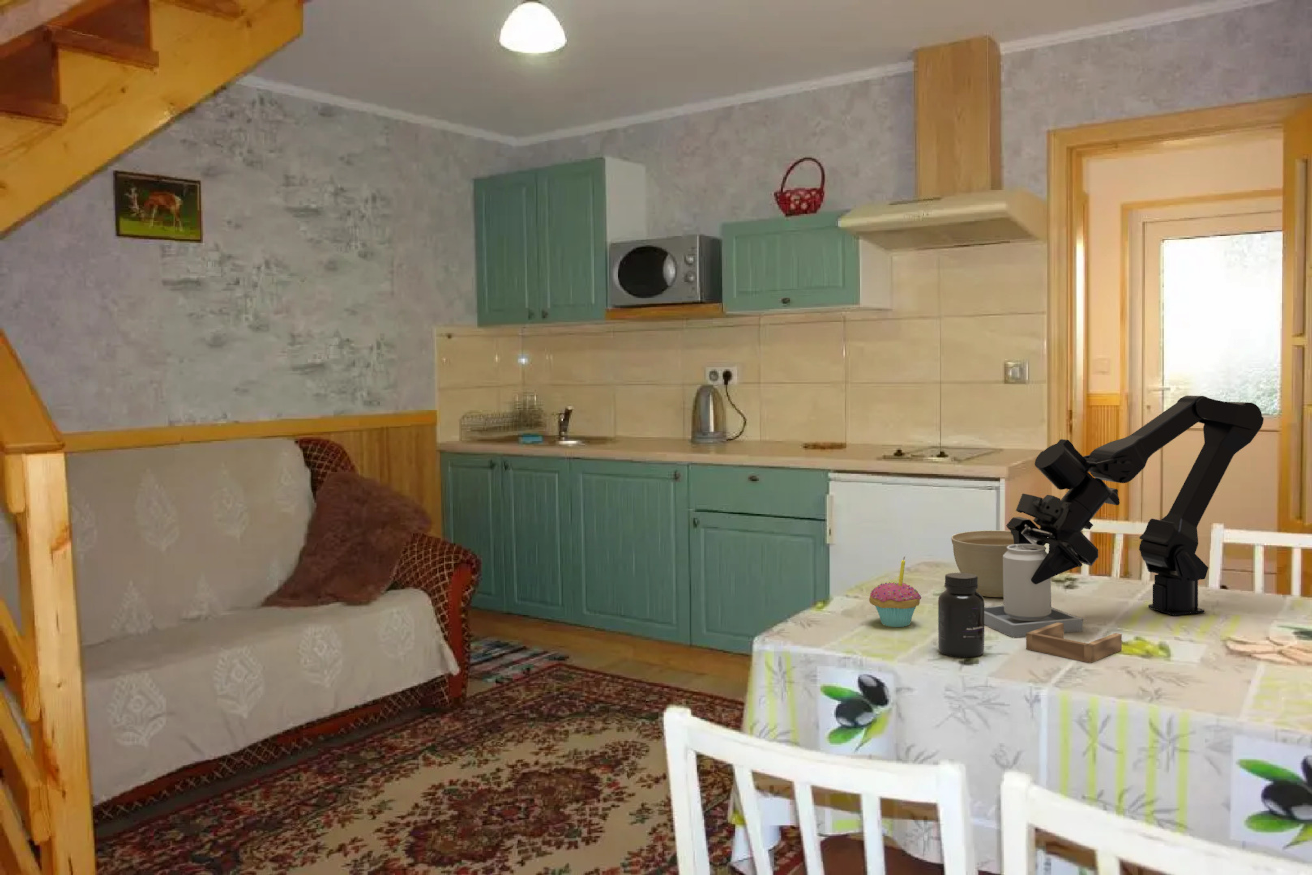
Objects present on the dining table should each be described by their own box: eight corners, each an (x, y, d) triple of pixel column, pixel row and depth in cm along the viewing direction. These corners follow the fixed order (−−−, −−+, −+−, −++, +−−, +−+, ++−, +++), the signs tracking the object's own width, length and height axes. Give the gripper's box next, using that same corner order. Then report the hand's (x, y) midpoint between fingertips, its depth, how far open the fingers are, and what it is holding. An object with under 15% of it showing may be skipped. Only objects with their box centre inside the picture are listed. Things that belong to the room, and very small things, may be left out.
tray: (1038, 613, 180) (1038, 602, 180) (1082, 630, 167) (1082, 618, 167) (972, 619, 177) (972, 607, 177) (1013, 637, 165) (1013, 625, 165)
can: (1042, 624, 167) (1041, 551, 166) (997, 618, 172) (996, 547, 171) (1057, 614, 173) (1056, 543, 172) (1012, 609, 177) (1011, 540, 177)
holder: (1057, 637, 164) (1057, 622, 164) (1121, 650, 156) (1121, 634, 156) (1026, 648, 158) (1026, 633, 158) (1090, 662, 150) (1090, 646, 150)
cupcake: (929, 622, 176) (928, 553, 175) (905, 633, 170) (903, 561, 169) (885, 615, 182) (884, 548, 181) (860, 625, 176) (858, 556, 175)
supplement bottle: (978, 660, 153) (977, 581, 152) (932, 655, 157) (931, 577, 156) (989, 649, 159) (989, 572, 158) (945, 644, 162) (944, 569, 162)
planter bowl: (968, 580, 208) (967, 527, 207) (1050, 588, 198) (1050, 533, 197) (939, 596, 195) (938, 540, 194) (1026, 606, 185) (1026, 546, 184)
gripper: (1015, 471, 180) (959, 538, 179) (1081, 482, 162) (1019, 556, 161) (1056, 512, 183) (1001, 578, 181) (1125, 527, 164) (1065, 601, 163)
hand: (1019, 577), depth 171 cm, fingers closed on can, 7 cm apart
